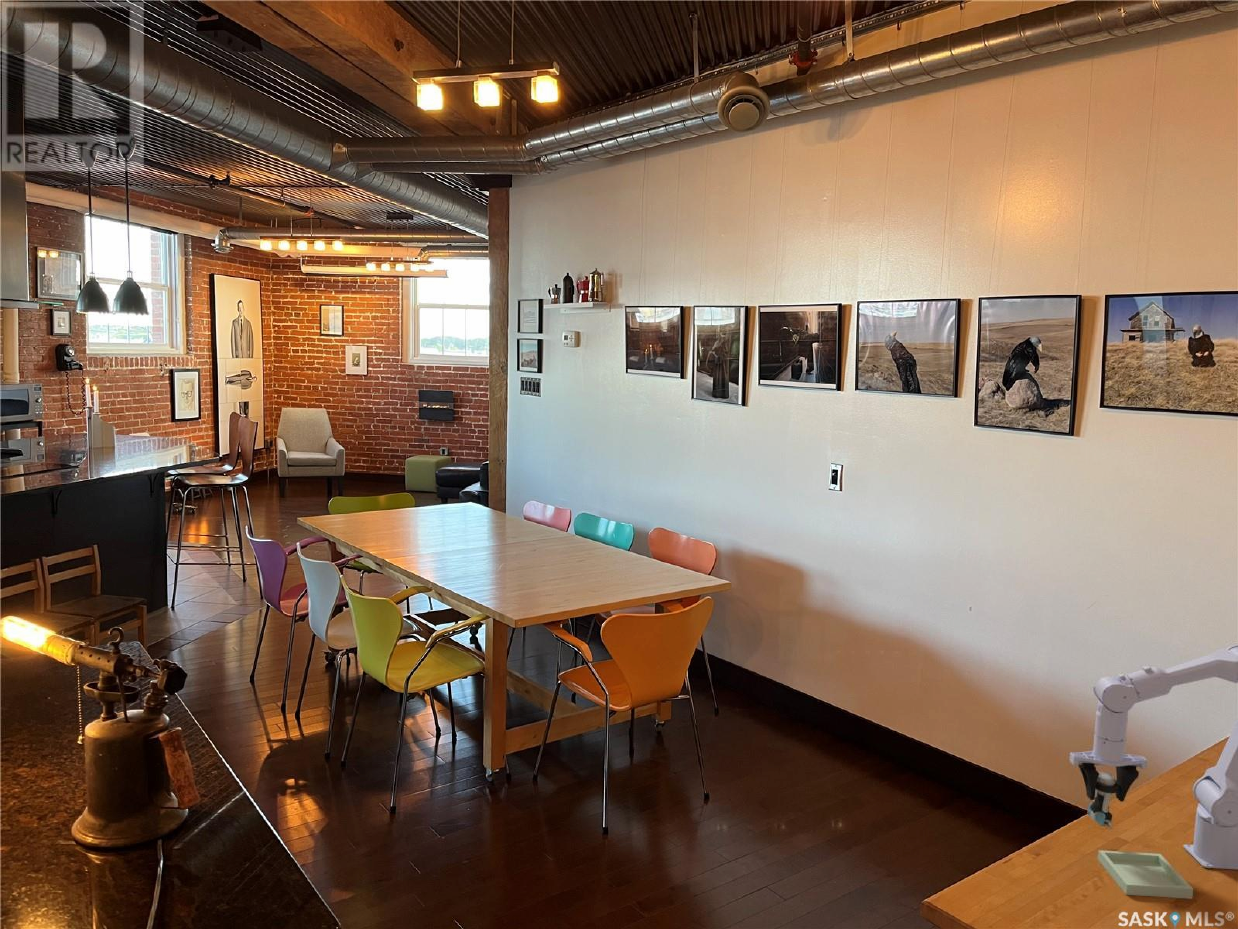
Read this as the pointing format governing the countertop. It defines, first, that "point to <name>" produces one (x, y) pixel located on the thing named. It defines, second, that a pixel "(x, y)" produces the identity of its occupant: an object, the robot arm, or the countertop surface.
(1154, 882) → the tray
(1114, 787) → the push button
